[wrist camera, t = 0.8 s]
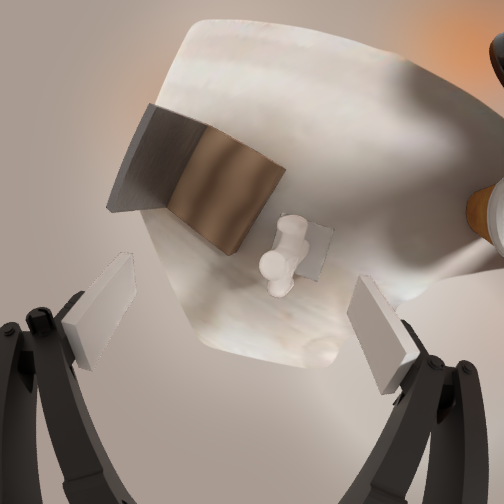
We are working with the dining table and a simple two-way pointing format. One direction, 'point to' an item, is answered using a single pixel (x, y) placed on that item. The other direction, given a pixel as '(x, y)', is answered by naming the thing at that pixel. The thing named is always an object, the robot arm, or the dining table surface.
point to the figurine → (294, 253)
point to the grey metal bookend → (155, 160)
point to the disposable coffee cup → (488, 214)
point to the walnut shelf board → (224, 189)
